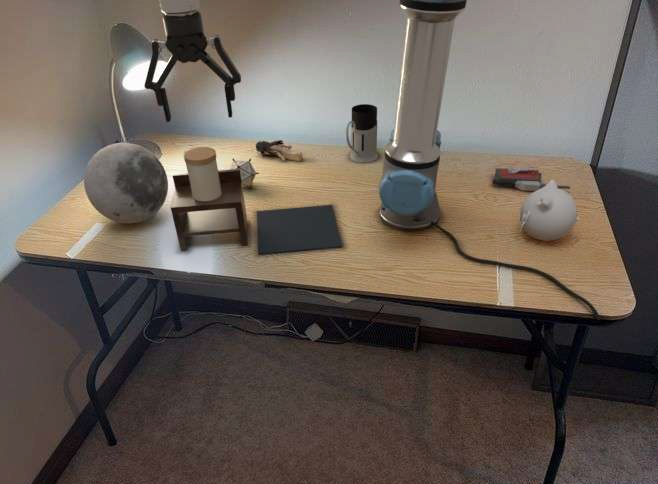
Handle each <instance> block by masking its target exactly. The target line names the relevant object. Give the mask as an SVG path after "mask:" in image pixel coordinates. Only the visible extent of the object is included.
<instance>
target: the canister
mask: <svg viewBox="0 0 658 484" xmlns="http://www.w3.org/2000/svg"><path fill="white" fill-rule="evenodd" d="M183 160H184V162H185V166H186V171H187V172H186V173H188V176H189V181H190V186H191V191H192V196H193V198H194V199H195V200H198V201H211V200H214V199H217V198H218V197H220V196H221V194H222V191H221V185H220V179H219V173H218V170H219V168H218V167H219V166H218V161H217V152H216V149H214V148H213V147H210V146H198V147H193V148H189V149H187V150H186V151H185V152H184V153H183Z"/></svg>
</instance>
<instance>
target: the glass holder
mask: <svg viewBox="0 0 658 484" xmlns="http://www.w3.org/2000/svg"><path fill="white" fill-rule="evenodd" d="M346 124H347V125H346V127H345V138H346V139H345V140H346V143H347V146H348V147H349V149H350V154H349V159H350V160H351V161H353V162H355V163H363V164H364V163H371V162H374V161H376V160H377V159H378V157H379V155H378V152H377V151H378V145H377V144H378V107H377V106H376V105H374V104H369V103H362V104H356V105H353V106H352V107H351V120H349V121H348V123H346ZM349 129H350V137H349Z"/></svg>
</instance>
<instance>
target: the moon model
mask: <svg viewBox="0 0 658 484" xmlns="http://www.w3.org/2000/svg"><path fill="white" fill-rule="evenodd" d="M83 186H84V191H85V194H86V197H87V198H88V200H89V203H90V204H91V205H92V207H93V208H94V209H95V210H96V211H97V212H98V213H99V214H100V215H102V216H103V217H105V218H106V219H109V220H110V221H112V222H115V223H121V224H137V223H141V222H145V221H146V220H148V219H150V218H152V217H153V216H155V215H156V214H157V213H158V212H159V211H160V210H161V208H162V207H163V206H164V204H165V202H166V199H167V196H168V191H169V180H168V175H167V172H166V170H165V168H164V166H163V164H162V162H161V161H160V160H159V158H158V157H157V156H156V155H155V154H154V153H152V152H151V151H150V150H148V149H147V148H145V147H143V146H141V145H138V144H136V143H135V144H134V143H131V142H117V143H112V144H108V145H107V146H104V147H102V148H100V149H99V150H98V151H97V152H96V153H94V155H92V156H91V158H90V159H89V161H88V163H87V165H86V167H85V170H84V175H83Z"/></svg>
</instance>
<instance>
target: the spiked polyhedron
mask: <svg viewBox="0 0 658 484" xmlns="http://www.w3.org/2000/svg"><path fill="white" fill-rule="evenodd" d="M232 161H233V162H232V164H231V167H230V168H229V170H230V169H240V172H241V179H242V186H243V188H245V187H246V188H249V189H250V190H252V189H253V187H252V184H253V182H254V180H255V177H256V176H257V175H259V174H260V173H259V172H256V170H255V168H254V167H253V165H252V163H251V161H252V159H251V158H249V160H235V158H232Z"/></svg>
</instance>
